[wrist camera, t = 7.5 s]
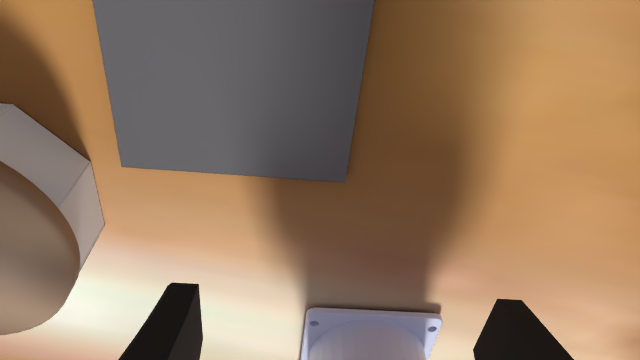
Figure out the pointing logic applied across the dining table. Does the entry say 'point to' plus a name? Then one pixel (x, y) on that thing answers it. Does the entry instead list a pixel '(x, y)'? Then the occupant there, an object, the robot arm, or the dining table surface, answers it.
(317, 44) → the mat
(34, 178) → the bowl
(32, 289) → the lid
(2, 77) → the dining table surface
